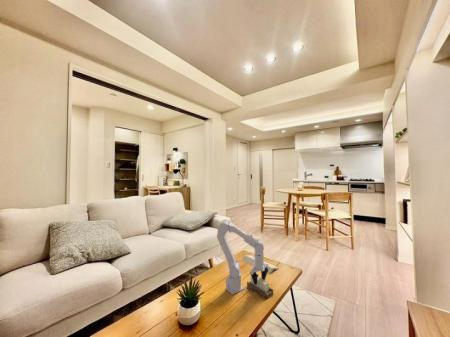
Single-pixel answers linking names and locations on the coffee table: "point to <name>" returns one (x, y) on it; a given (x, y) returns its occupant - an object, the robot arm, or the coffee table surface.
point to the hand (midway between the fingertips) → (259, 281)
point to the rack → (260, 290)
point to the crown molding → (251, 261)
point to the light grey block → (261, 284)
